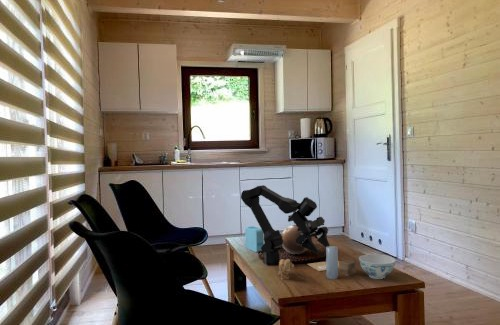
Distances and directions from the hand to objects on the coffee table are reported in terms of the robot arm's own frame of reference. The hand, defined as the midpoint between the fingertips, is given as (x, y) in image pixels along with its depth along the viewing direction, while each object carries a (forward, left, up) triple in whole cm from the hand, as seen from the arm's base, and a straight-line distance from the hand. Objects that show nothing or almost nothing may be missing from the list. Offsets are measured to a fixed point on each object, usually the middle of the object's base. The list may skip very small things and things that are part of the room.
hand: (323, 250), depth 182 cm
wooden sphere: (+4, +37, -11) cm, 39 cm away
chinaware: (+20, -10, -11) cm, 25 cm away
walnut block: (+11, -1, -11) cm, 15 cm away
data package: (-13, +54, -11) cm, 56 cm away
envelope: (+9, +12, -11) cm, 18 cm away
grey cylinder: (+2, -4, -11) cm, 11 cm away
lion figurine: (-16, +5, -11) cm, 20 cm away
